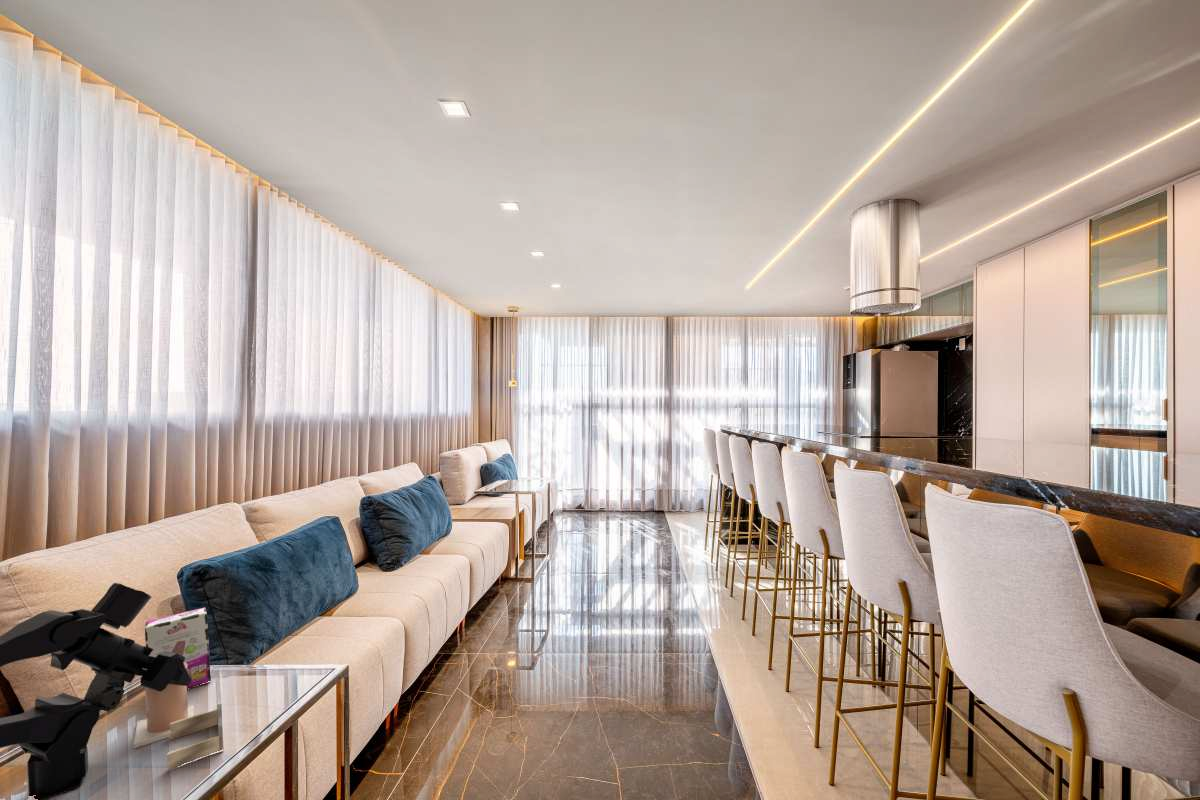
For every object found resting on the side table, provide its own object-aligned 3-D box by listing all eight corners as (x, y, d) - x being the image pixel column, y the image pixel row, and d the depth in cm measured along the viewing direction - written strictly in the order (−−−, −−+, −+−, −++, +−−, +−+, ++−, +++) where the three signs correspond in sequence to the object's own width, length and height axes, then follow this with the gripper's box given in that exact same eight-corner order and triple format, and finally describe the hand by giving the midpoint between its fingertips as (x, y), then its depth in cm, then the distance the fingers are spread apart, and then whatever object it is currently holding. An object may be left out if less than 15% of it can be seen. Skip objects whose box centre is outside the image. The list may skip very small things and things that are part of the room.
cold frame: (168, 771, 94) (165, 720, 94) (170, 738, 103) (168, 692, 103) (223, 751, 99) (221, 703, 99) (221, 721, 108) (219, 677, 108)
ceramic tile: (133, 748, 101) (133, 744, 101) (137, 725, 108) (137, 721, 108) (193, 729, 106) (193, 725, 106) (193, 708, 113) (193, 704, 113)
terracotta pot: (159, 736, 103) (156, 682, 103) (136, 729, 105) (134, 676, 105) (197, 715, 109) (195, 664, 109) (175, 709, 112) (173, 659, 112)
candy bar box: (209, 674, 127) (206, 606, 127) (211, 683, 123) (208, 612, 123) (148, 692, 120) (145, 620, 120) (148, 702, 116) (144, 627, 116)
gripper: (37, 689, 96) (114, 714, 107) (99, 708, 89) (174, 733, 100) (89, 627, 103) (156, 656, 114) (150, 641, 97) (216, 670, 107)
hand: (174, 679), depth 108 cm, fingers open, 9 cm apart
